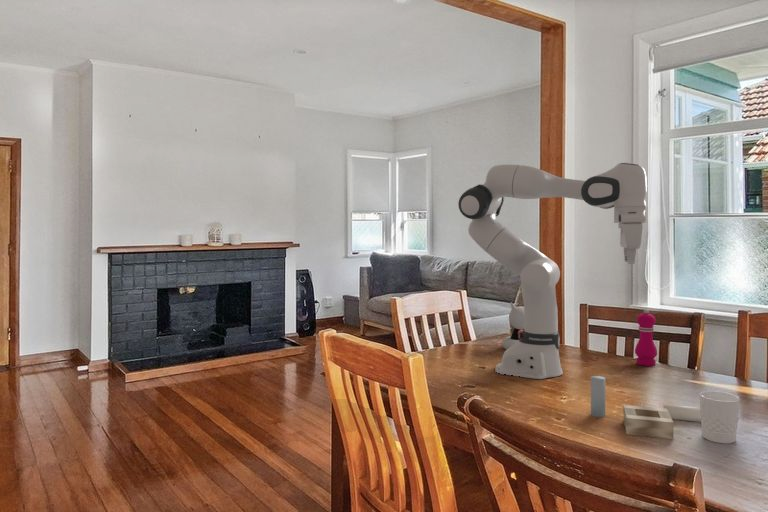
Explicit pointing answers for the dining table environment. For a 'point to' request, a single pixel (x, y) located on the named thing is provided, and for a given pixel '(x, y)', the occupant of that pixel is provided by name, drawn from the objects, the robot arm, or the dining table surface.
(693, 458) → the dining table surface
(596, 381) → the peg
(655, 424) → the socket
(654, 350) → the pepper mill
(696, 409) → the lying peg
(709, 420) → the white cup
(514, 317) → the decorative figurine
